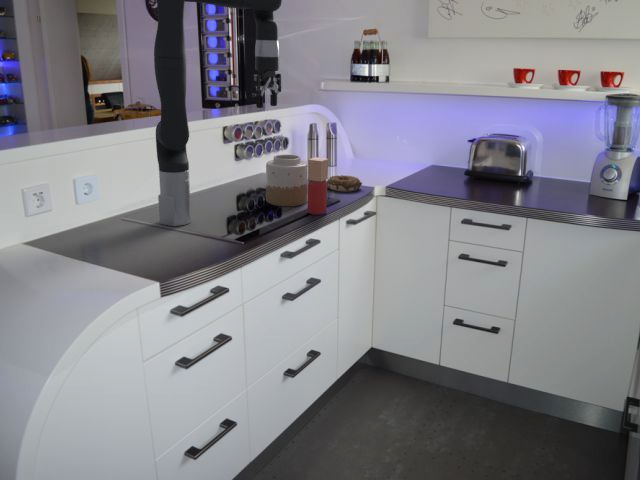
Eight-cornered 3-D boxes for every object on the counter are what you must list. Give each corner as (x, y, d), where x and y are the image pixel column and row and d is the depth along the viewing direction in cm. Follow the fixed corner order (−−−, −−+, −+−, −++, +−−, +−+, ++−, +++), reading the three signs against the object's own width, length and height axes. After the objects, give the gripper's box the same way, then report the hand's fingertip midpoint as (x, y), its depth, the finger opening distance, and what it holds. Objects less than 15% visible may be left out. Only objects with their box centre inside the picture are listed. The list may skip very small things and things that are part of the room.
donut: (323, 191, 241) (324, 179, 240) (331, 184, 254) (331, 172, 252) (358, 194, 238) (359, 182, 237) (364, 187, 251) (365, 175, 249)
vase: (311, 198, 230) (313, 155, 225) (299, 208, 216) (300, 162, 211) (274, 194, 234) (274, 151, 228) (259, 204, 220) (259, 158, 214)
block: (320, 181, 204) (321, 161, 201) (307, 179, 206) (308, 159, 203) (327, 178, 208) (328, 158, 206) (314, 177, 210) (315, 157, 208)
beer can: (324, 216, 207) (325, 182, 203) (305, 214, 208) (306, 180, 204) (327, 211, 213) (329, 178, 209) (309, 209, 214) (310, 176, 210)
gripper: (264, 55, 185) (264, 109, 190) (288, 55, 197) (287, 106, 202) (244, 55, 189) (245, 107, 194) (268, 54, 201) (268, 104, 206)
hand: (266, 106), depth 198 cm, fingers open, 8 cm apart
